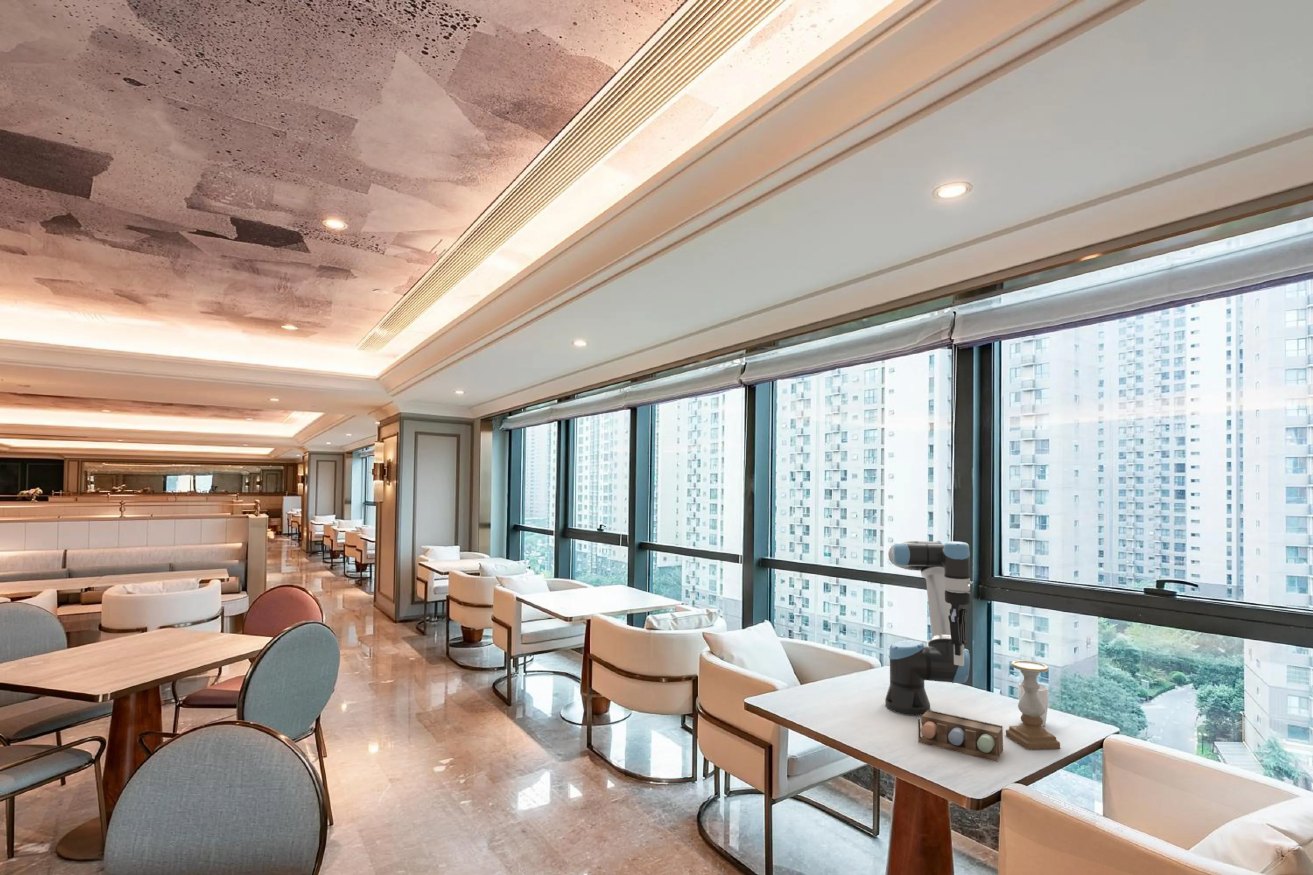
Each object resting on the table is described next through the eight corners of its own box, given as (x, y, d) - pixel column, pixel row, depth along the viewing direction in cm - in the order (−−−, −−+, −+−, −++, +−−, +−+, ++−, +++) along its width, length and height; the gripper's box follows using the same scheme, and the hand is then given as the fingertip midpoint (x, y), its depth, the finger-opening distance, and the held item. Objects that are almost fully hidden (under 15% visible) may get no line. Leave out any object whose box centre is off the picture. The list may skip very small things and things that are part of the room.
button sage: (977, 750, 187) (976, 736, 188) (980, 746, 191) (979, 732, 191) (992, 754, 185) (991, 739, 185) (994, 749, 188) (994, 735, 188)
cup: (1054, 728, 210) (1052, 691, 211) (1024, 726, 212) (1023, 689, 213) (1043, 718, 219) (1042, 683, 220) (1015, 716, 221) (1013, 681, 221)
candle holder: (1004, 735, 204) (1002, 660, 206) (1037, 734, 205) (1034, 659, 207) (1027, 749, 193) (1024, 670, 195) (1061, 748, 194) (1058, 669, 196)
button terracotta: (920, 736, 197) (920, 723, 198) (924, 732, 200) (924, 719, 201) (934, 740, 195) (934, 726, 195) (937, 735, 198) (937, 722, 198)
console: (918, 742, 198) (917, 718, 199) (927, 732, 206) (926, 709, 207) (996, 761, 185) (995, 736, 185) (1003, 750, 193) (1002, 725, 193)
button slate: (948, 743, 192) (947, 729, 193) (951, 739, 195) (951, 725, 196) (962, 746, 190) (962, 733, 190) (965, 742, 193) (965, 729, 193)
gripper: (964, 595, 196) (966, 672, 195) (975, 588, 206) (976, 661, 205) (939, 592, 201) (940, 667, 200) (950, 585, 211) (952, 657, 210)
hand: (959, 664), depth 202 cm, fingers closed
